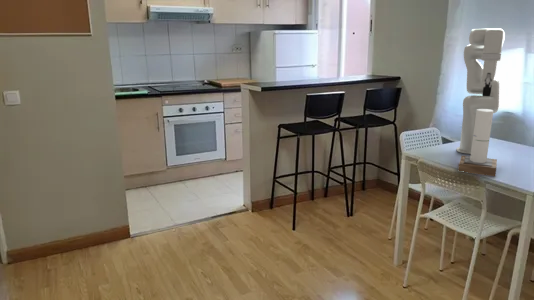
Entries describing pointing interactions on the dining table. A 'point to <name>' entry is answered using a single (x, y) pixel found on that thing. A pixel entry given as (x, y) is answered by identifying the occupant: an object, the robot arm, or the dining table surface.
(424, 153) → the dining table surface
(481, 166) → the walnut base
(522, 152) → the dining table surface
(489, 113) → the cylindrical container
